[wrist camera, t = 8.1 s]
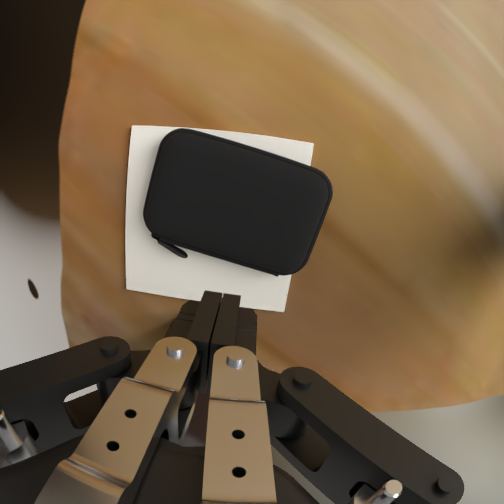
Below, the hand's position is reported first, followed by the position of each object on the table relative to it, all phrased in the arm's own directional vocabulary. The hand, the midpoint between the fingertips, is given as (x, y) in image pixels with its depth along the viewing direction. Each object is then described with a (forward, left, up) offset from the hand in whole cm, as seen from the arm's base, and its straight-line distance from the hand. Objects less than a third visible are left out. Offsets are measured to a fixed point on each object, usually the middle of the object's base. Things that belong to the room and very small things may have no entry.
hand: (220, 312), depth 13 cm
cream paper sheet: (+3, 0, -16) cm, 16 cm away
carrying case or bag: (-7, 0, -14) cm, 15 cm away
